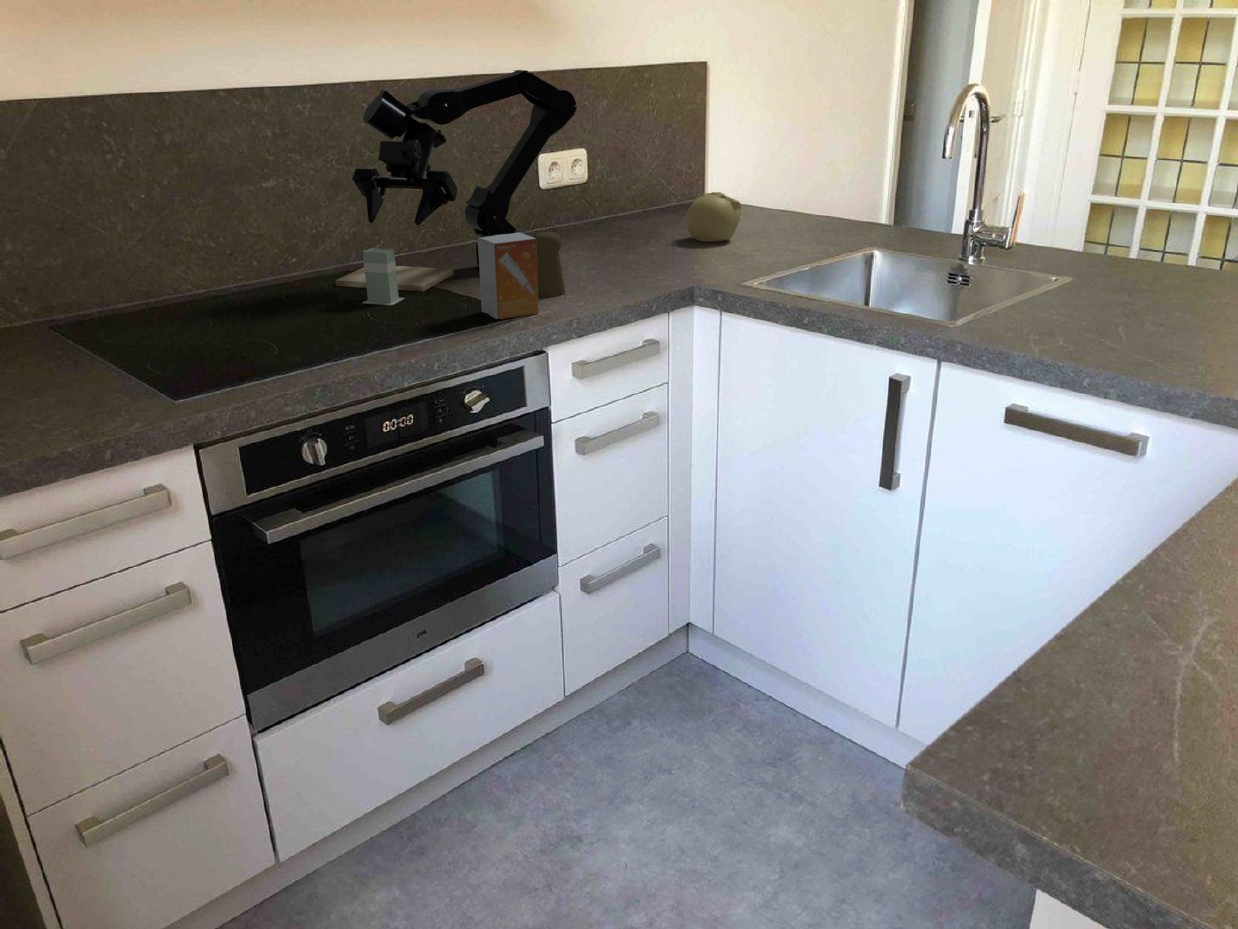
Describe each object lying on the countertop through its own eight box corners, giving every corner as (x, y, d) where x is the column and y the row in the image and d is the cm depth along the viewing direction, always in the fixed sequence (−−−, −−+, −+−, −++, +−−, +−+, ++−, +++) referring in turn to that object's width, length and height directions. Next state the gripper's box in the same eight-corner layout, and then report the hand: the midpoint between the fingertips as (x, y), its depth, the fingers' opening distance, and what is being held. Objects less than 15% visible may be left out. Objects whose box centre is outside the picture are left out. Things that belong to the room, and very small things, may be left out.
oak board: (453, 275, 196) (452, 269, 196) (423, 292, 184) (422, 285, 184) (371, 270, 201) (370, 264, 200) (336, 286, 188) (335, 280, 188)
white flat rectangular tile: (405, 298, 179) (405, 297, 179) (392, 305, 175) (392, 304, 175) (375, 297, 181) (374, 295, 181) (361, 303, 176) (361, 302, 176)
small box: (497, 321, 166) (493, 243, 161) (481, 312, 171) (476, 236, 165) (540, 313, 170) (537, 237, 165) (522, 305, 175) (519, 231, 169)
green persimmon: (746, 238, 228) (748, 190, 224) (722, 247, 219) (724, 197, 215) (702, 233, 234) (703, 186, 230) (677, 242, 225) (678, 193, 220)
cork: (570, 290, 185) (568, 230, 180) (558, 298, 180) (556, 237, 175) (540, 287, 187) (538, 228, 182) (527, 295, 181) (524, 235, 177)
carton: (399, 298, 179) (394, 249, 175) (391, 303, 176) (386, 252, 172) (376, 297, 180) (370, 247, 176) (367, 301, 177) (362, 251, 173)
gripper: (350, 121, 179) (326, 193, 174) (446, 123, 174) (424, 197, 169) (376, 161, 189) (354, 230, 184) (466, 164, 184) (446, 235, 179)
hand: (393, 222), depth 179 cm, fingers open, 9 cm apart
